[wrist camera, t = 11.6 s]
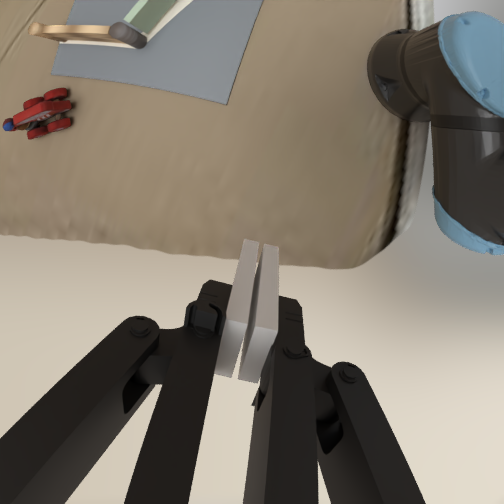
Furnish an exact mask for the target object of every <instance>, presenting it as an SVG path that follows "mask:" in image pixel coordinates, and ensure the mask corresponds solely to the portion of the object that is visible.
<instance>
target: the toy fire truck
mask: <svg viewBox="0 0 504 504" xmlns="http://www.w3.org/2000/svg"><path fill="white" fill-rule="evenodd" d="M65 97H67V90H66V88H58V89H54V90H51V91H48V92H47V93H45V94H44V97H37V98H33V99H30V100H28V101H26V102H24V104H23V106H24V111H22V112H20V113H18V114H16V115H14V116H13V118H8V119H6V120H5V121H4V122H3V129H4V130H5V131H16V130H29V131H28V132H27V136H28V139H34V138H38V137H41V136H43V135H46V134H48V132H55V131H59V130H62V129H65V128H68V127H70V125H71V123H70V119H69V118H63V119H61V113H63V112H65V111H68V110H70V109H71V103H70V101H69V100H66V101H59V100H62V99H64V98H65ZM53 116H55V119H56V121H53V122H51V123H49V124H48V126H47V125H45V126H41V127H40V125H39V123H40V122H42V121H43V120H46V119H48V118H51V117H53Z"/></svg>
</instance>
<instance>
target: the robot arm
mask: <svg viewBox="0 0 504 504" xmlns="http://www.w3.org/2000/svg"><path fill="white" fill-rule="evenodd" d="M367 70H368V77H369V81H370V85H371V87H372V89H373V92H374V93H375V95H376V97H377V98H378V100H379V101H380V102H381V103H382V105H383V106H384V107H385V108H386V109H387V110H389V111H390V112H391V113H393V114H394V115H396V116H398V117H400V118H402V119H405V120H408V121H414V122H429V121H431V133H432V147H433V167H434V185H433V188H432V193H433V198H434V208H435V219H436V221H437V224H438V226H439V228H440V230H441V231H442V232H443V233H444V234H445V235H446V236H447V237H448V238H450V239H451V240H452V241H454V242H455V243H457V244H459V245H460V246H462V247H465V248H467V249H469V250H472V251H475V252H478V253H483V254H484V253H486V252H489V253H490V254H492V255H503V254H504V24H503V23H502V22H501V21H499V20H498V19H496V18H494V17H492V16H490V15H488V14H485V13H482V12H476V11H472V12H465V13H461V14H456V15H450V16H447V17H445V18H444V19H443V20H442V21H439V22H437V23H435V24H433V25H431V26H429V27H426V28H424V29H422V30H420V31H417V30H411V29H400V30H395V31H392V32H390V33H388V34H386V35H385V36H383V37H381V38H380V39H379V40H378V41H377V42H376V43H375V44H374V46H373V47H372V49H371V51H370V54H369V57H368V64H367ZM258 247H259V242H256V241H252V240H248V239H244V242H243V246H242V250H241V254H240V258H239V263H238V267H237V270H236V274H235V278H234V282H233V285H230V284H226V283H222V282H218V281H214V280H209V281H207V282H206V283H205V284H203V286H202V288H201V291H200V293H199V296H198V299H197V300H196V301H193V302H191V303H189V305H188V306H187V307H186V314H185V321H184V326H182V327H180V328H176V329H159V326H158V324H157V323H156V322H155V321H154V320H152V319H150V318H147V317H145V316H133V317H129V318H127V319H126V320H124V321H123V322H122V323H121V324H120V325H118V326H117V327H116V328H115V330H113V331H112V332H111V333H110V334H109V335H108V336H106V337H105V338H104V339H103V340H102V341H101V342H100V343H99V344H98V345H97V346H96V347H95V348H94V349H92V350H91V351H90V352H89V353H88V354H87V355H86V356H85V357H84V358H83V359H82V360H81V361H80V362H78V363H77V364H76V366H74V367H73V368H72V369H71V370H70V371H69V372H68V373H67V374H66V375H65V376H64V377H63V378H62V379H60V380H59V381H58V382H57V383H56V384H55V385H54V386H53V387H52V388H51V389H50V390H49V391H48V392H47V393H46V394H45V395H44V396H43V397H42V398H41V399H40V400H39V401H38V402H37V403H36V404H35V405H34V406H33V407H32V408H31V409H29V410H28V412H26V413H25V415H23V416H22V417H21V418H20V420H19V421H17V422H16V423H15V424H14V425H13V426H12V427H11V428H10V429H9V430H8V431H7V433H5V434H4V435H3V436H2V437H1V438H0V504H65V502H66V501H67V500H68V498H69V497H70V496H71V495H72V493H73V492H74V491H75V489H76V488H77V487H78V486H79V484H80V483H81V482H82V480H83V479H84V478H85V476H86V475H87V474H88V473H89V471H90V470H91V469H92V467H93V466H94V465H95V464H96V462H97V461H98V460H99V458H100V457H101V456H102V454H103V453H104V452H105V451H106V449H107V448H108V447H109V445H110V444H111V443H112V442H113V440H114V439H115V438H116V436H117V435H118V434H119V432H120V431H121V430H122V428H123V427H124V426H125V425H126V423H127V422H128V421H129V419H130V418H131V417H132V416H133V414H134V413H135V412H136V410H137V409H138V408H139V406H140V405H141V404H142V402H143V401H144V400H145V399H146V397H147V396H148V395H149V393H150V392H151V391H152V389H153V388H154V387H155V385H156V384H162V388H161V391H160V394H159V397H158V399H157V402H156V405H155V409H154V411H153V414H152V417H151V420H150V423H149V426H148V429H147V432H146V435H145V438H144V441H143V444H142V447H141V451H140V454H139V457H138V460H137V463H136V466H135V469H134V472H133V475H132V479H131V482H130V485H129V488H128V492H127V495H126V498H125V502H124V504H188V502H189V496H190V491H191V486H192V481H193V476H194V471H195V466H196V461H197V455H198V450H199V445H200V440H201V435H202V430H203V425H204V420H205V415H206V411H207V406H208V400H209V395H210V391H211V386H212V381H213V376H214V374H218V375H222V376H226V377H230V378H231V377H232V374H233V370H234V367H235V364H236V361H237V357H238V354H239V351H240V348H241V344H242V341H243V338H244V342H243V349H242V356H241V362H240V369H239V375H238V379H239V380H244V381H249V382H253V383H258V381H259V378H260V376H261V378H260V386H259V388H258V391H257V393H256V396H255V398H254V400H253V403H252V406H255V410H254V418H253V428H252V435H251V443H250V452H249V460H248V468H247V476H246V483H245V491H244V499H243V504H318V462H319V465H320V469H321V472H322V475H323V479H324V482H325V485H326V488H327V492H328V495H329V498H330V501H331V504H426V503H425V501H424V499H423V496H422V494H421V492H420V490H419V487H418V485H417V483H416V481H415V478H414V476H413V474H412V472H411V470H410V467H409V465H408V463H407V461H406V459H405V456H404V454H403V452H402V450H401V448H400V446H399V444H398V442H397V439H396V437H395V435H394V433H393V431H392V429H391V427H390V425H389V423H388V421H387V419H386V416H385V414H384V412H383V410H382V408H381V406H380V405H379V402H378V400H377V398H376V396H375V394H374V392H373V390H372V388H371V386H370V384H369V382H368V380H367V378H366V376H365V374H364V373H363V372H362V370H361V369H360V368H358V367H357V366H356V365H354V364H352V363H349V362H338V363H336V364H334V365H333V366H332V368H331V367H329V366H326V365H324V364H322V363H320V362H318V361H316V360H315V359H313V358H312V354H311V351H310V350H309V348H308V347H307V346H306V345H305V339H304V326H303V317H302V316H303V315H302V307H301V306H300V304H299V303H298V301H297V300H296V299H291V298H287V297H283V296H279V294H278V293H279V247H276V246H272V245H268V244H264V246H263V250H262V253H261V257H260V260H259V264H258V267H257V271H256V274H255V268H256V262H257V254H258ZM254 276H255V278H254ZM244 335H245V336H244ZM317 459H318V460H317Z"/></svg>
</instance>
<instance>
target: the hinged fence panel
mask: <svg viewBox="0 0 504 504" xmlns="http://www.w3.org/2000/svg"><path fill="white" fill-rule="evenodd" d="M175 1H176V0H139V1H138V2H137V3H136V5H135V6H134V7H133V8H132V9H131V10H130V12H129V13H128V14H127V15H126V17H125V18H124V19H123V20H125V21H127V22H128V23H130V24H132V25H133V26H135V27H136V28H138V29H140V30H141V31H143V32H144V33H146V34H148V32H149V31H150V30H151V29H152V27H153V26H154V25H155V24H156V23H157V22H158V20H159V19H160V18H161V17H162V16H163V15H164V13H165V12H166V11H167V10H168V9H169V8H170V7H171V6H172V5H173V3H174V2H175Z"/></svg>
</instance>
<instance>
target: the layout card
mask: <svg viewBox="0 0 504 504" xmlns="http://www.w3.org/2000/svg"><path fill="white" fill-rule="evenodd" d="M138 1H139V0H75V1H74V4H73V7H72V9H71V12H70V14H69V17H68V20H67V23H66V25H99V26H112V25H113V24H114V23H116V22H123V23H124V24H126V25H128V26H129V27H131V28H133V29H134V30H136V31H138V32H139V33H141V34H143V35H144V36H146V37H147V44H146V46H145V47H144V48H142V49H136V48H134V47H132V46H130V45H128V44H122V43H111V42H97V41H75V40H68V41H67V42H60V44H59V47H58V50H57V54H56V57H55V61H54V64H53V68H52V72H51V75H62V76H73V77H83V78H92V79H100V80H107V81H114V82H121V83H127V84H133V85H139V86H145V87H150V88H156V89H161V90H166V91H171V92H175V93H180V94H185V95H189V96H193V97H198V98H202V99H206V100H210V101H214V102H218V103H222V104H226V105H227V102H228V99H229V95H230V92H231V89H232V86H233V83H234V80H235V77H236V74H237V71H238V68H239V65H240V62H241V59H242V57H243V54H244V51H245V48H246V45H247V42H248V40H249V37H250V34H251V31H252V28H253V26H254V23H255V20H256V18H257V15H258V12H259V10H260V7H261V4H262V2H263V0H176V1H175V2H174V3H173V5H172V6H171V7H170V8H169V9H168V10H167V11H166V12H165V13H164V15H163V16H162V17H161V18H160V19H159V20H158V22H157V23H156V24H155V25H154V26H153V27H152V29H151V30H150V31H149V32H148V34H146V33H144V32H143V31H141V30H140V29H138V28H136V27H135V26H133V25H132V24H130V23H128V22H127V21H125V20H123V19H124V18H125V17H126V15H127V14H128V13H129V12H130V10H131V9H132V8H133V7H134V6H135V5H136V3H137V2H138Z"/></svg>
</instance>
